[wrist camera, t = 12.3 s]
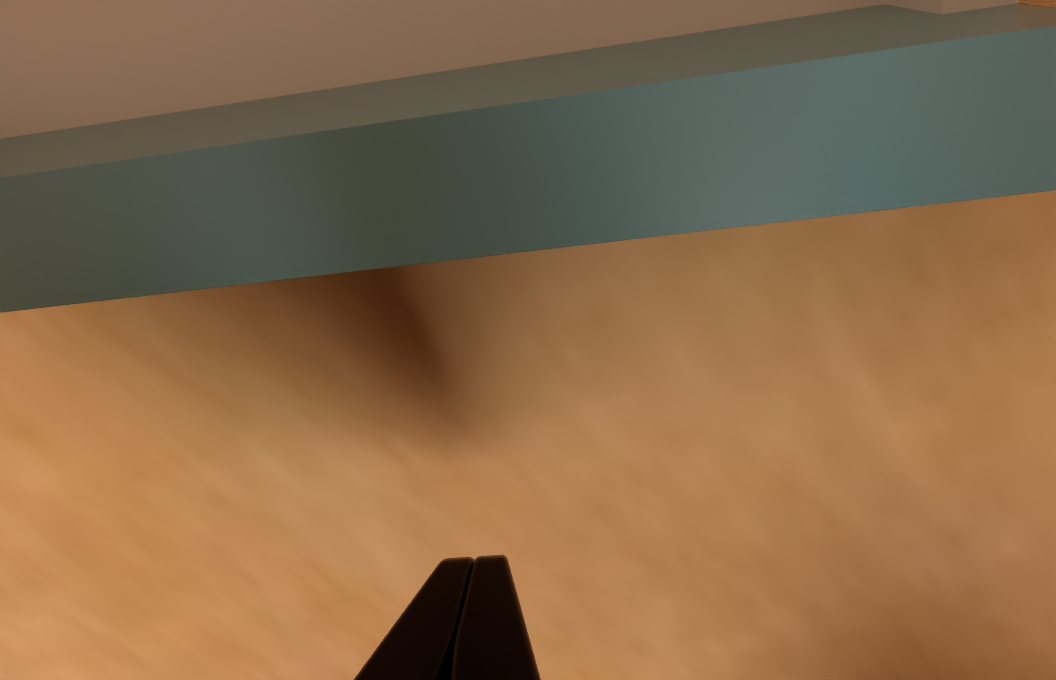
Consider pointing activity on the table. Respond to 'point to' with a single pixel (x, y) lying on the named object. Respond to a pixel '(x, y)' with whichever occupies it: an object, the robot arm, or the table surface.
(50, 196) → the tray
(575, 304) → the table surface
